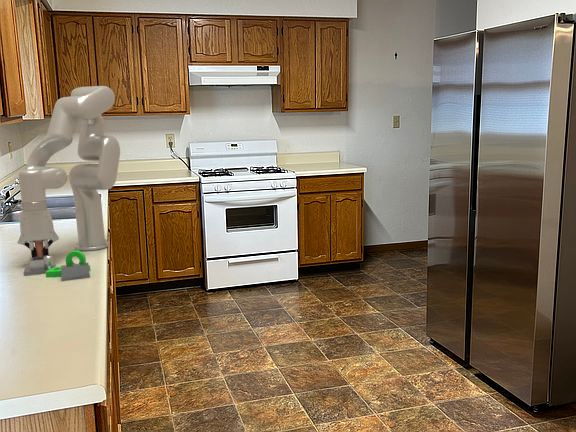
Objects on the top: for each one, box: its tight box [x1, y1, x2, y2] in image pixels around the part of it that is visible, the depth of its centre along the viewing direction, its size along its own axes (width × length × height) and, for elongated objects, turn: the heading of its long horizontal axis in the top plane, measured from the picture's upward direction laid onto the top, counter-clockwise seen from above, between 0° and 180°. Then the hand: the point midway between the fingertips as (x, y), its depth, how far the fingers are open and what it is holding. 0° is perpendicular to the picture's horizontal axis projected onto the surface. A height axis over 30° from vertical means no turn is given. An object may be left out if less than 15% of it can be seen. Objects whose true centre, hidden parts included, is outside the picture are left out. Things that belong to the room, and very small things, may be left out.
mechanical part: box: [45, 249, 91, 278], centre depth 181 cm, size 12×6×8 cm, turn 94°
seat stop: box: [60, 262, 91, 282], centre depth 176 cm, size 3×8×4 cm, turn 110°
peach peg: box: [34, 240, 44, 257], centre depth 193 cm, size 3×3×9 cm
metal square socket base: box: [23, 254, 56, 277], centre depth 186 cm, size 10×9×5 cm
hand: (40, 259), depth 194 cm, fingers closed on peach peg, 2 cm apart
